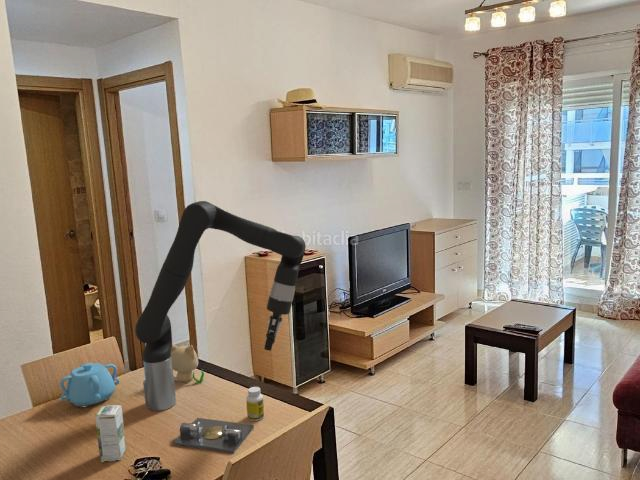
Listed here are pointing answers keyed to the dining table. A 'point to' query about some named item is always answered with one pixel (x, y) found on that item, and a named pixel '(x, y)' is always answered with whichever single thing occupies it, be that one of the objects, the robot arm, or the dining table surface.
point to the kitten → (184, 363)
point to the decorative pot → (89, 384)
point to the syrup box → (110, 433)
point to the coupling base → (213, 435)
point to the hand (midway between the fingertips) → (269, 346)
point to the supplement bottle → (255, 404)
